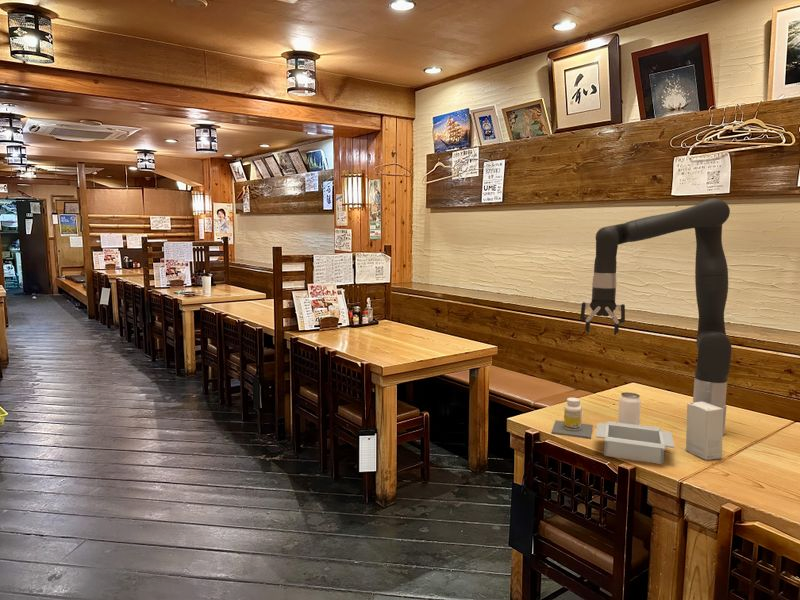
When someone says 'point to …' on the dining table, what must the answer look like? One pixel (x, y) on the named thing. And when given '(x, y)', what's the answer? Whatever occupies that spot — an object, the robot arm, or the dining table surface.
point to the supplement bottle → (572, 414)
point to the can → (629, 408)
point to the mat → (582, 433)
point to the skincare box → (704, 430)
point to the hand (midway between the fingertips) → (601, 333)
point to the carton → (634, 441)
